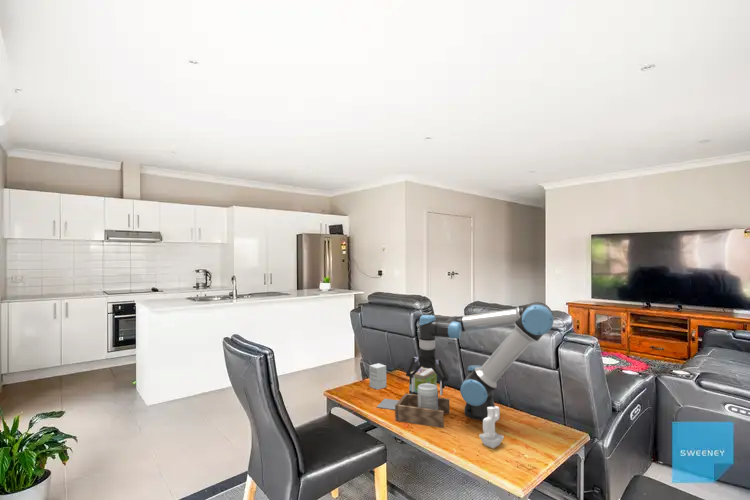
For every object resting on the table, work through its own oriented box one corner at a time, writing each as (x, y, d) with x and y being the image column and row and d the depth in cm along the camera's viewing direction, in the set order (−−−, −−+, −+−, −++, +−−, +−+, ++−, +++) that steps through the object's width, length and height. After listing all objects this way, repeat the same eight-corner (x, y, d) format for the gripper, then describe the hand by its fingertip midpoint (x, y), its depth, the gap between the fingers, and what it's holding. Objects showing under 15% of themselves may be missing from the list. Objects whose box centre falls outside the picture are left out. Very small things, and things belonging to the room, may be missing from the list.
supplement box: (378, 384, 229) (378, 362, 229) (386, 387, 223) (386, 365, 224) (369, 386, 224) (369, 365, 225) (377, 390, 219) (377, 367, 219)
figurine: (477, 445, 154) (476, 407, 155) (490, 438, 160) (490, 401, 161) (492, 452, 149) (492, 413, 149) (506, 444, 155) (505, 407, 155)
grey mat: (406, 402, 200) (406, 401, 200) (399, 410, 189) (399, 410, 189) (384, 399, 205) (384, 398, 205) (376, 407, 193) (376, 406, 193)
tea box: (426, 404, 197) (425, 375, 198) (408, 400, 203) (408, 372, 203) (437, 395, 210) (437, 368, 210) (420, 392, 215) (420, 365, 216)
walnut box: (449, 413, 186) (449, 398, 186) (443, 427, 170) (442, 412, 170) (405, 407, 194) (405, 393, 194) (395, 420, 178) (395, 405, 178)
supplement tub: (442, 418, 180) (442, 387, 180) (427, 423, 174) (426, 391, 175) (428, 411, 188) (428, 381, 188) (413, 416, 182) (413, 385, 183)
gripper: (454, 348, 181) (454, 393, 180) (404, 344, 190) (403, 387, 189) (452, 352, 174) (452, 399, 173) (399, 347, 183) (399, 392, 182)
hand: (427, 393), depth 181 cm, fingers open, 13 cm apart
